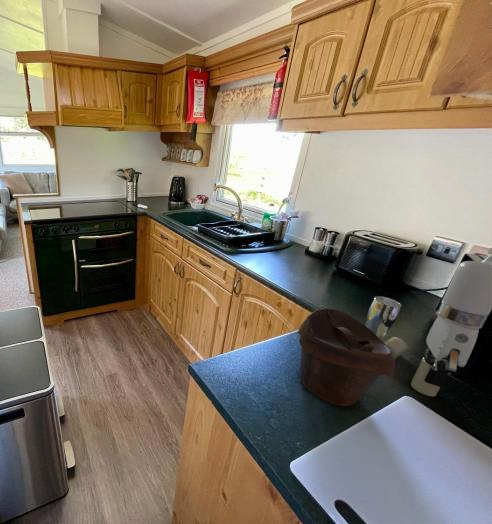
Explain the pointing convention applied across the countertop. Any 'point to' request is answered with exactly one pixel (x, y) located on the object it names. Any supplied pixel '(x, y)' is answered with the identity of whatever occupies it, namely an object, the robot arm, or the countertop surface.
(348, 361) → the brown lidded pot
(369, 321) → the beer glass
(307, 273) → the countertop surface
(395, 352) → the salt shaker
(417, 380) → the pepper shaker
